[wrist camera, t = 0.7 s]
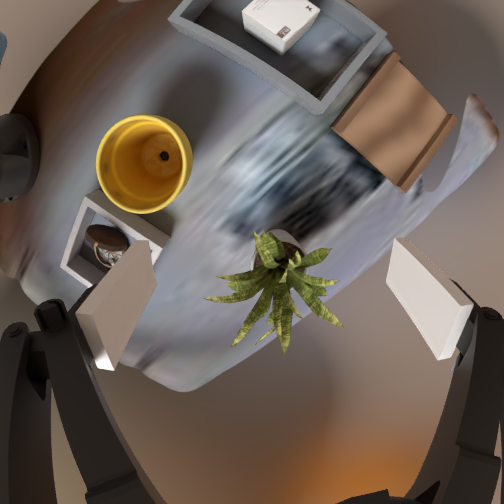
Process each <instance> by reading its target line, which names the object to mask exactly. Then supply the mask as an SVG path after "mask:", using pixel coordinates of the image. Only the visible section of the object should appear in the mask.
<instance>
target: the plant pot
mask: <svg viewBox="0 0 504 504" xmlns="http://www.w3.org/2000/svg"><path fill="white" fill-rule="evenodd" d="M164 151H166V152H167V153H168V154H169V159H168V160H167V161H163V160H162V159H161V153H162V152H164ZM192 165H193V156H192V149H191V146H190V143H189V140H188V138H187V136H186V135H185V133H184V132H183V131H182V130H181V128H180V127H179V126H178V125H176V124H175V123H174V122H172V121H170V120H169V119H166V118H164V117H161V116H156V115H149V114H138V115H132V116H129V117H126V118H124V119H122V120H120V121H118V122H117V123H116V124H114V125H113V126H112V127H111V128H110V129H109V130H108V131H107V133H106V134H105V135H104V137H103V139H102V141H101V143H100V145H99V148H98V152H97V157H96V171H97V176H98V180H99V183H100V185H101V187H102V189H103V191H104V193H105V194H106V196H107V197H108V198H109V199H110V200H111V201H112V202H113V203H114V204H115V205H117V206H118V207H120V208H122V209H124V210H126V211H128V212H132V213H138V214H145V213H152V212H155V211H158V210H160V209H162V208H164V207H166V206H167V205H169V204H170V203H171V202H172V201H173V200H174V199H175V198H176V197H177V196H178V195H179V194H180V193H181V191H182V190H183V189H184V187H185V186H186V184H187V182H188V180H189V177H190V175H191V171H192Z"/></svg>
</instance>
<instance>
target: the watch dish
mask: <svg viewBox="0 0 504 504" xmlns="http://www.w3.org/2000/svg"><path fill="white" fill-rule="evenodd" d="M95 212H97V213H98V214H100V215H101V216H103V217H104V218H106V219H107V220H108V221H110V222H111V223H113V224H114V225H116V226H117V227H119V228H120V229H122V230H123V231H125V232H126V233H128V234H129V235H131V236H132V237H134V238H135V239H137V240H149V245H150V249H152V250H153V251H152V253H151V258H152V264H153V267H154V265H155V263H156V261H157V260H158V258H159V256H160V255H161V253H162V251H163V249H164V248H165V246H166V244H167V243H168V241H169V239H170V238H171V237H170V236H168V235H167V234H165V233H164V232H162V231H161V230H159V229H157V228H156V227H154V226H153V225H151V224H150V223H148V222H147V221H145V220H144V219H142V218H141V217H139V216H138V215H136V214H135V213H132V212H128V211H126V210H124V209H122V208H120V207H118V206H117V205H115V204H114V203H113V202H112V201H111V200H110V199H109V198H108V197H107V196H106V194H105V193H104V192H102V191H101V190H99V189H98V190H96V191H94V192H92V193H90V194H88V195H86V196H85V197H84V199H83V202H82V204H81V207H80V210H79V212H78V215H77V217H76V220H75V223H74V226H73V228H72V231H71V234H70V237H69V240H68V243H67V246H66V249H65V252H64V256H63V259H62V262H61V266H60V267H61V268H63V269H64V270H65V271H67V272H68V273H69V274H71V275H72V276H73V277H75V278H76V279H77V280H79V281H80V282H82V283H83V284H84V285H86V286H87V287H91V286H92V285H94V284H99V282H100V281H101V280H102V279H103V278H104V276H105V275H106V274H105V273H104V272H103V271H101V270H100V269H98V268H97V267H95V266H94V265H93V264H91V263H90V262H88V261H87V260H85V259H84V258H83V257H81V256H80V255H79V252H80V249H81V247H82V244H83V241H84V239H85V232H86V229H87V227H89V226H90V224H91V221H92V219H93V216H94V214H95Z"/></svg>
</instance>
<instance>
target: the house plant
mask: <svg viewBox="0 0 504 504" xmlns="http://www.w3.org/2000/svg"><path fill="white" fill-rule="evenodd" d="M253 233H254V237H255V241H256V250H255V252H254V255H253V257H252V260H251V265H250V267H251V271H248V272H245V273H240V274H234V275H230V276H223V275H221V276H217V277H219V278H222V279H225V280H229V281H233V282H230V283H226V284H227V285H228V286H229V287H230V288H231V289H233V290H235V291H242V292H237V293H233V294H230V295H227V296H223V297H209V298H204V299H206V300H211V301H215V302H222V303H233V302H239V301H244V300H247V299H249V298H252V297H253V296H254V295H255V294H257V293H258V292H259V291H260V290H262V289H263V288H264V290H263V292H262V294H261V296H260V297H259V299H258V301H257V303H256V304H255V306H254V307H253V309H252V310H251V312H250V313H249V315H248V317H247V318H246V320H245V321H244V323H243V326H242V328H241V329H240V330H239V332H238V333H239V334H238V333H237V334H238V336H237V337H236V338H235V340H234V341H233V344H232V347H233V346H234V345H236V344H237V343H238V342H240V341H241V340H242V339H243V338H244V337H245V336H246V335H247V333H248V332H249V331H250V330H251V328H252V327H253V325H254V324H255V322H256V321H257V320H259V319H260V318H261V317H263V316H265V315H266V313H267V312H268V310H269V308H270V304H271V300H272V296H273V309H272V312H271V314H270V315H269V317H268V319H267V323H268V324H274V326H273V327H272V329H270V330H269V331H268V332H267V333H266V334H265V335H264V336H263V337H262V338H261V339H260V340H259V341H258V342H260V341H261V340H262V339H263V338H265V337H266V336H268V335H269V334H271V333H272V332H273V331H274V330H276V334H277V336H278V338H279V340H280V342H281V343H282V348H283V350H284V353H286V352H287V349H288V345H289V343H290V336H291V324H292V314H293V312H294V313H295V314H296V316H298V317H300V318H301V319H302V317H301V315H300V314H299V312H298V310H297V308H296V307H295V305H294V302H293V300H292V298H291V296H290V290H293V289H295V290H296V291H297V292H298V293H299V294H300V296H301V297H302V299H303V300H304V301H305V303H306V304H307V305H308V306H309V307H310V309H311V310H312V311H313V312H314V313H315V314H316V315H317V316H318V317H321V318H323V319H325V320H328V321H329V322H331V323H332V324H334V325H336V326H342V327H344V326H343V325H342V324H341V322H339V320H338V319H337V318H336V317H335V316H334V315H333V314H332V313H331V311H330V310H329V309H328V308H327V307H326V306H325V305H324V304H323V303H322V301H321V300H320V299H319V298H318V296H327V294H326V289H325V288H324V287H323V286H330V285H333V284H335V283H337V282H339V281H340V280H339V281H337V280H326V279H324V278H318V277H311V276H309V275H308V271H309V266H312V265H316V264H318V263H321V262H322V261H323V260H324V259H325V258H326V256H327V255H328V253H329V252H330V250H331V249H332V248H331V249H325V248H321V249H317V250H314V251H313V252H311V253H309V254H308V255H307V253H306V252H305V250H304V249H303V248H302V247H301V246H300V244H299V243H298V242H297V241H296V240H295V239H294V238H293V237H292V236H291V235H290V234H289V233H288V232H286V231H284V230H281V229H273V230H269V231H268V232H267V233H266V232H265V230H264V232H263V234H262V235H261V236H260V237H259V236H258V235H257V234H256V233H255V232H254V230H253ZM258 342H257V343H258ZM257 343H256V344H257ZM256 344H255V345H256ZM230 348H231V347H230Z"/></svg>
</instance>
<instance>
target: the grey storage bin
mask: <svg viewBox="0 0 504 504" xmlns="http://www.w3.org/2000/svg"><path fill="white" fill-rule="evenodd" d="M212 1H213V0H183V1H182V3H181V4H180V5H179V6H178V7H177V8H176V10H175V11H174V12H173V13H172V14H171V16H170V17H169V18H168V19H167V20H168V21H169V22H170V23H171V24H172V25H173V26H174V27H175V28H176V29H177V30H178V31H179V32H181V33H183V34H185V35H187V36H189V37H191V38H193V39H195V40H197V41H199V42H201V43H203V44H205V45H207V46H208V47H210V48H212V49H214V50H216V51H217V52H219V53H221V54H223V55H225V56H226V57H228V58H230V59H231V60H233V61H235V62H237V63H238V64H240V65H242V66H243V67H245V68H246V69H248V70H250V71H251V72H253V73H254V74H256V75H258V76H259V77H261V78H262V79H264V80H265V81H267V82H268V83H270V84H271V85H273V86H274V87H276V88H277V89H279V90H280V91H282V92H283V93H284V94H286V95H287V96H289V97H290V98H292V99H293V100H294V101H296V102H297V103H298V104H300V105H301V106H303V107H304V108H305V109H307V110H308V111H309V112H311V113H312V114H313V115H317V114H323V112H324V111H325V110H326V108H327V107H328V106H329V105H330V103H331V102H332V101H333V100H334V98H335V97H336V96H337V95H338V93H339V92H340V91H341V90H342V88H343V87H344V86H345V85H346V83H347V82H348V81H349V80H350V78H351V77H352V76H353V75H354V73H355V72H356V71H357V70H358V69H359V67H360V66H361V65H362V64H363V62H364V61H365V60H366V59H367V58H368V56H369V55H370V54H371V53H372V51H373V50H374V49H375V48H376V47H377V45H378V44H379V43H380V42H381V41H382V39H383V38H384V37H385V36H386V35H387V33H386V32H385V31H384V30H383V29H382V28H380V27H379V26H378V25H377V24H376V23H374V22H373V21H372V20H371V19H369V18H368V17H367V16H365V15H364V14H363V13H362V12H360V11H359V10H358V9H356V8H355V7H353V6H352V5H351V4H349V3H348V2H346V1H345V0H308V1H309V2H311V3H312V4H314V5H315V6H317V7H318V8H319V9H320V11H321V12H323V13H324V14H326V15H327V16H329V17H330V18H332V19H333V20H334V21H336V22H337V23H339V24H340V25H341V26H343V27H344V28H346V29H347V30H348V31H350V32H351V33H352V34H353V35H355V36H356V37H357V38H359V39H360V40H361V41H362V42H363V43H362V44H361V45H360V47H359V48H358V49H357V50H356V51H355V53H354V54H353V55H352V56H351V57H350V58H349V60H348V61H347V62H346V63H345V65H344V66H343V67H342V68H341V69H340V71H339V72H338V73H337V74H336V75H335V77H334V78H333V79H332V80H331V82H330V83H329V84H328V85H327V87H326V88H325V89H324V90H323V92H322V93H321V94H320V95H319V97H318V98H315V97H314V96H313V95H311V94H310V93H309V92H307V91H306V90H305V89H303V88H302V87H301V86H299V85H298V84H296V83H295V82H293V81H292V80H291V79H289V78H288V77H286V76H285V75H283V74H282V73H280V72H279V71H277V70H276V69H274V68H273V67H271V66H270V65H268V64H267V63H265V62H263V61H262V60H260V59H259V58H257V57H255V56H254V55H252V54H251V53H249V52H247V51H246V50H244V49H242V48H240V47H239V46H237V45H235V44H233V43H232V42H230V41H228V40H226V39H224V38H223V37H221V36H219V35H217V34H215V33H213V32H211V31H209V30H207V29H205V28H203V27H201V26H199V25H197V24H195V23H193V22H194V21H195V20H196V19H197V18H198V16H199V15H200V14H201V13H202V12H203V11H204V10H205V8H206V7H207V6H208V5H209V4H210V3H211V2H212Z"/></svg>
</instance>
